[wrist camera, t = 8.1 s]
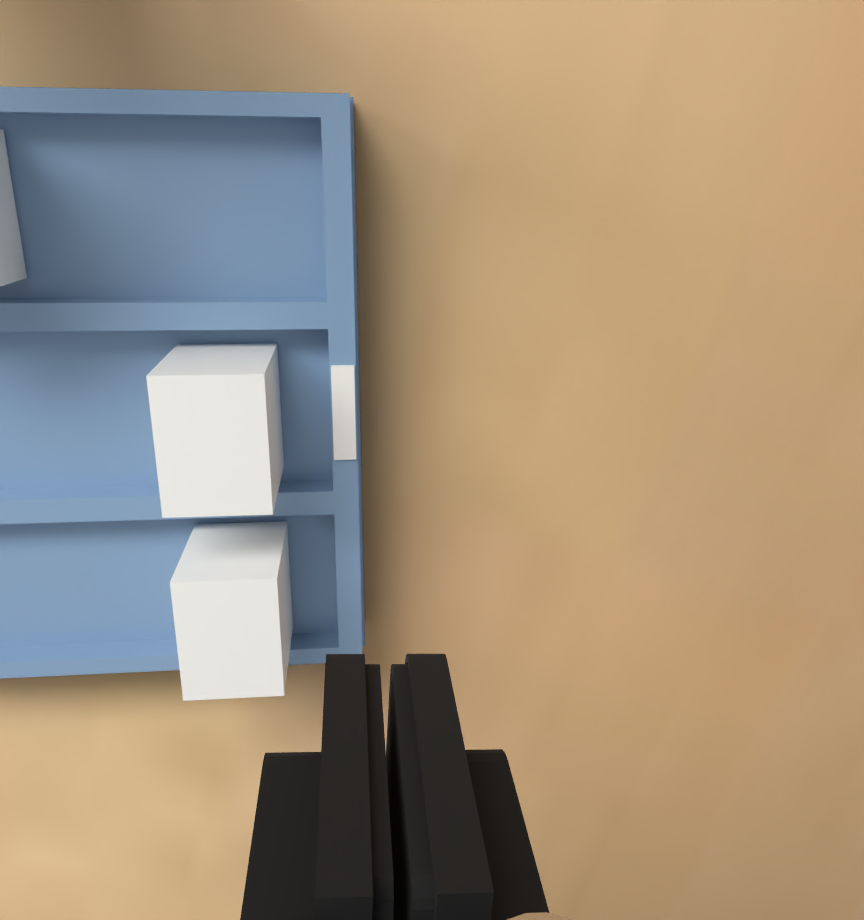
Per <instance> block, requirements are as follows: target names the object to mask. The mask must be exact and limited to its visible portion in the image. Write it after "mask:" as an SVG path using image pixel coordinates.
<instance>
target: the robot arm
mask: <svg viewBox="0 0 864 920" xmlns="http://www.w3.org/2000/svg"><path fill="white" fill-rule="evenodd" d="M240 920H571V919H570V918H568V917H564V916H559V915H555V914H551V913H549V910H548V907H547V903H546V899H545V896H544V892H543V888H542V884H541V881H540V877H539V873H538V870H537V866H536V862H535V859H534V855H533V851H532V848H531V844H530V840H529V837H528V833H527V829H526V826H525V822H524V818H523V815H522V811H521V807H520V804H519V800H518V796H517V793H516V789H515V785H514V782H513V778H512V774H511V771H510V767H509V763H508V760H507V757H506V754H505V752H504V751H503V750H502V749H499V750H465V747H464V742H463V737H462V732H461V727H460V722H459V717H458V712H457V707H456V702H455V697H454V692H453V688H452V683H451V678H450V673H449V668H448V663H447V658H446V655H445V654H407V655H406V660H405V664H392V665H391V674H390V692H389V710H388V728H387V746H386V753H385V738H384V722H383V707H382V691H381V676H380V665H379V664H365V655H364V654H326V663H325V685H324V707H323V729H322V751H321V752H290V753H265V756H264V760H263V766H262V773H261V780H260V787H259V794H258V801H257V808H256V815H255V822H254V829H253V836H252V843H251V850H250V857H249V863H248V870H247V877H246V884H245V891H244V898H243V905H242V912H241V919H240Z"/></svg>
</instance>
